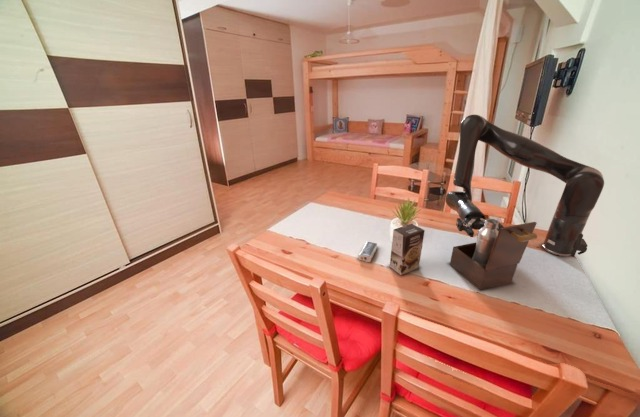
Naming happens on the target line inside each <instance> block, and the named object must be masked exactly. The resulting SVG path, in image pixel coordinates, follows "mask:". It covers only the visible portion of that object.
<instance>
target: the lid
mask: <svg viewBox="0 0 640 417" xmlns="http://www.w3.org/2000/svg"><path fill="white" fill-rule="evenodd" d="M536 226H537V222H536V221H532V222H526V223H521V224H515V225H509V226H503V228H500V229H499V232H498V235H497V238H496V240H495V243H494V246H493V249H492V251H491V254H490V257H489V260H488V262H487V265H486V268H485V270H491V269H496V268H501V267H505V266H510V265H514V264H520V262H521V260H522V258H523V256H524V253H525V251H526V249H527V246H528V245H529V242H530V241H535V240H537V239H538V235H537V234H536V233H535V232H534V230H535V228H536Z"/></svg>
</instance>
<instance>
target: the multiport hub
mask: <svg viewBox="0 0 640 417" xmlns="http://www.w3.org/2000/svg"><path fill="white" fill-rule="evenodd" d="M377 249H378V243H377V242H372V241H366V243H365V244H364V246H363V248H362V249H361V251H360V253H359V255H358V258H359V259H358V260H359V261H362V262H366V263H370V262H371V261H372V260H373V257H374V255H375V253H376V251H377Z"/></svg>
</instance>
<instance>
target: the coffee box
mask: <svg viewBox="0 0 640 417" xmlns="http://www.w3.org/2000/svg"><path fill="white" fill-rule="evenodd" d="M425 231H426V230H425V229H423V228H421V227H419V226H417V225H415V224H414V223H409V224H406V225H402V226H399V227H397V228H393V231H392V241H391V248H390V249H391V251H390V258H389V259H390V260H389V267H390V268H391V269H392V270H393V271H394V272H396V273H397V274H398V275H400V276H404V275H405V274H407V273H410V272H412V271H414V270H417V269H419V268H420V264H421V257H422V249H423V244H424V238H425Z"/></svg>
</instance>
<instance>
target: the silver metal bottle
mask: <svg viewBox="0 0 640 417" xmlns="http://www.w3.org/2000/svg"><path fill="white" fill-rule="evenodd" d="M499 223H500V221H499V220H498V219H495V218H486V221H485V223H484V227H482V228H481V229H480V230H479V229H478V231H477V232H476V242H477V243H476V242H475V243H476V249H475V252H474V255H473V257H472V259H473V260H474V261H475V262H477V263H478V264H479V265H481V266H482V267H483V268H486V265H487V262H488V260H489V257H490V254H491V251H492V249H493V246H494V243H495V240H496V238H497V235H498V230H497V228H498V224H499Z"/></svg>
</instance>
